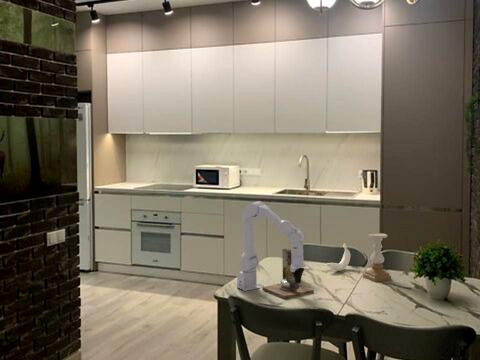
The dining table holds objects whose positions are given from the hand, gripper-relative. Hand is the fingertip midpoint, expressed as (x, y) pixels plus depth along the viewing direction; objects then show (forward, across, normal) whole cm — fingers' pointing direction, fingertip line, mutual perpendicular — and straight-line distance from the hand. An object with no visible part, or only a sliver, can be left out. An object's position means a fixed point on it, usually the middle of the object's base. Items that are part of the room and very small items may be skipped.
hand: (297, 283), depth 252 cm
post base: (+5, +3, +6) cm, 9 cm away
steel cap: (+3, +1, +4) cm, 5 cm away
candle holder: (+7, +45, -28) cm, 54 cm away
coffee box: (+6, +24, +13) cm, 27 cm away
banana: (+6, +53, -5) cm, 53 cm away
